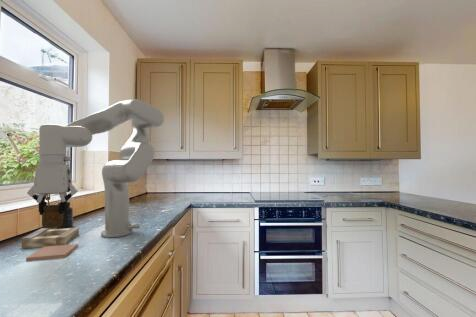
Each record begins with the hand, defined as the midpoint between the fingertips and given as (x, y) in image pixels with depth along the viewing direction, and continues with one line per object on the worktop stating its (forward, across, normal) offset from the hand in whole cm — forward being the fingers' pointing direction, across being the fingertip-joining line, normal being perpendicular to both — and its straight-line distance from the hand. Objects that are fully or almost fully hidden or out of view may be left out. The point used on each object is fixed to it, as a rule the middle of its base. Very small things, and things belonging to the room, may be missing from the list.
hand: (53, 213), depth 89 cm
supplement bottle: (+14, +11, -38) cm, 42 cm away
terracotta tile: (+14, 0, 0) cm, 14 cm away
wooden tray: (+14, +7, -16) cm, 22 cm away
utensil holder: (+5, 0, 0) cm, 5 cm away
